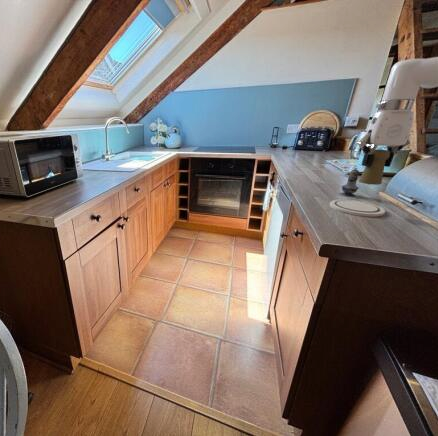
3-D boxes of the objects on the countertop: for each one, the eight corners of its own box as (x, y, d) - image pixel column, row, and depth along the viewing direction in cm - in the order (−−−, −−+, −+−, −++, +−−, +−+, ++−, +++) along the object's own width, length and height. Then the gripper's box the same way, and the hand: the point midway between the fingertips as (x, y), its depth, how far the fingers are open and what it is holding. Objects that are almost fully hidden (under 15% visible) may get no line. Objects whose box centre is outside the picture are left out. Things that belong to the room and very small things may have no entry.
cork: (359, 179, 88) (369, 148, 84) (382, 182, 84) (393, 149, 80) (357, 182, 84) (367, 149, 80) (380, 185, 80) (392, 151, 76)
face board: (350, 200, 100) (351, 197, 99) (396, 213, 86) (397, 210, 85) (319, 204, 96) (320, 201, 96) (361, 218, 82) (362, 215, 82)
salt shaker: (344, 196, 104) (352, 168, 100) (336, 192, 110) (344, 166, 105) (359, 197, 103) (368, 169, 99) (351, 193, 109) (359, 166, 104)
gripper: (374, 107, 72) (355, 168, 79) (438, 105, 70) (413, 168, 77) (357, 107, 79) (341, 164, 86) (414, 106, 77) (393, 164, 84)
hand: (375, 165), depth 82 cm, fingers closed on cork, 5 cm apart
